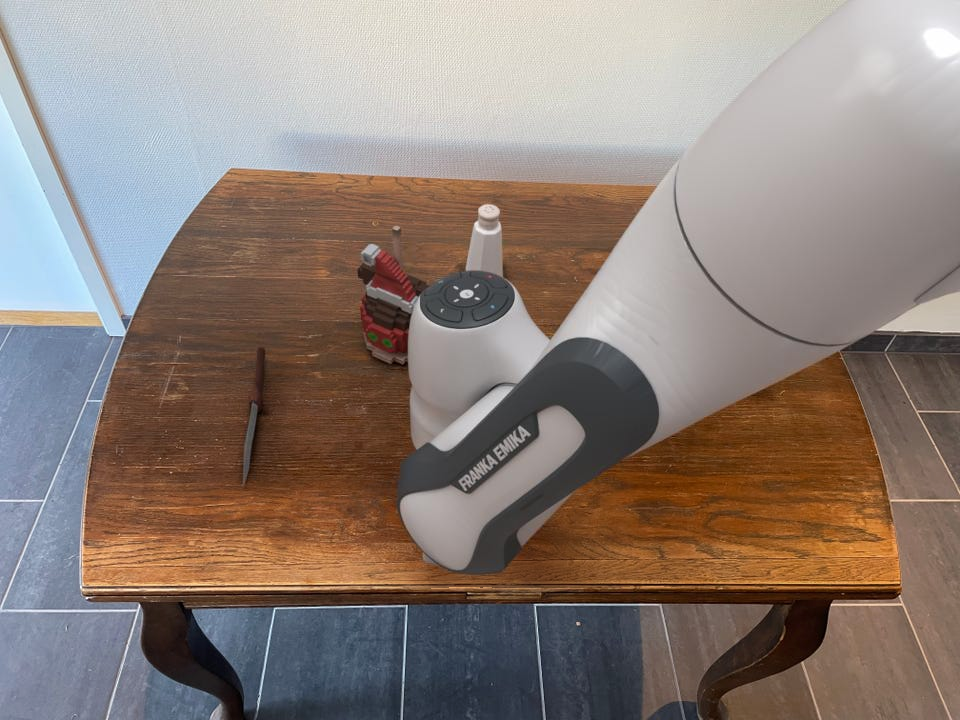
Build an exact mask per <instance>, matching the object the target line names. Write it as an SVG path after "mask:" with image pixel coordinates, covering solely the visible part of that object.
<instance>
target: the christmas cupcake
mask: <svg viewBox="0 0 960 720" xmlns="http://www.w3.org/2000/svg"><path fill="white" fill-rule="evenodd" d="M391 232H392V233H391V234H392V246H393V248H392V250H393V251H392V252H393V255H390V254H388V253H387V252H388V251H386V250H383V249H381V248H380V246H379V245H376V244H374V243H370V244H368V245H367V246H366V247H365V248H364V249H363V250H362V251H361V252H360V259H361V261H362V262H363V263H361V265H360V266H359V267H357V268H356V269H357V277H358V279H361V280H362V283H363V285H365V293H364V295H363V296H362V297H361V306H360V307H359V311H360V321H361V323H362V328H363V330H364V331H363V333H362V337H363V338H364V343H365V348H366V349H368V350H369V351H372V352H371V354H372V355H371V356H372V357H374V358H376V359H379V360H381V361H383V362H386V363H388V364H389V365H391V364H392V363H394V362H396V363H399V364H401V365H404V364H405V363H406V362H407V363H408V335H409V326H410V320H411V315H412V312H413V309H414V306H415V303H416V301H417V299H418V298H419V296H420V294H421V293H422V292H423V291H424V290H425V289H426V288H427V287H429V286H430V285H428V284H427V281H426V280H423V279H420V278H418V277H415V276H413V275H410V274H407V273H406V272H405V271H404V269H403V268H404V267H403V244H402V227H401V226H398V225H394V226H393V227H392V229H391Z"/></svg>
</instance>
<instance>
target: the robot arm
mask: <svg viewBox="0 0 960 720" xmlns="http://www.w3.org/2000/svg"><path fill="white" fill-rule="evenodd" d="M959 292H960V0H846V1H845V2H843V3H842V4H841V5H839V6H838V7H837V8H836V9H835V10H834V11H832V12H831V13H830V14H828V15H827V16H825V18H823V19H822V20H821V21H819V22H818V23H817V24H816V25H814V27H811V29H810V30H808V32H806V33H805V34H804V35H803V36H802V37H801V38H799V39H798V40H797V41H796V42H794V43H793V44H792V45H791V46H790V47H789V48H788V49H786V50H785V51H784V52H782V53H781V54H780V55H779V56H778V57H777V58H776V59H774V60H773V61H772V62H771V63H770V64H769V65H768V66H767V67H766V68H765V69H763V70H762V71H761V72H760V73H759V74H758V75H757V76H756V77H755V78H754V79H753V80H752V81H751V82H750V83H749V84H747V85H746V86H745V87H744V88H743V89H742V90H741V91H740V92H739V93H738V94H737V95H736V96H735V97H734V98H733V99H732V100H731V101H730V102H729V103H728V104H727V105H726V107H724V108H723V109H722V110H721V111H720V112H719V114H718V115H717V116H715V117H714V118H713V119H712V120H711V122H709V124H708V125H707V126H706V127H705V128H704V129H703V131H702V132H701V133H700V134H699V135H698V136H697V137H696V139H695V140H694V141H693V142H691V144H690V145H689V147H688V148H687V149H686V150H685V151H684V152H683V154H682V155H681V156H680V157H679V158H678V159H677V160H676V162H675V163H674V164H673V165H672V167H671V168H670V169H669V170H668V172H666V174H665V176H663V178H662V179H661V181H660V182H659V183H658V184H657V186H656V188H655V189H654V190H653V191H652V193H651V194H650V195H649V197H648V199H647V200H646V201H645V202H644V204H643V205H642V207H641V208H640V209H639V210H638V212H637V214H635V216H634V218H633V219H632V221H631V222H630V223H629V225H628V226H627V228H626V229H625V231H624V232H623V234H622V235H621V237H620V238H619V240H618V241H617V243H616V244H615V245H614V247H613V248H612V250H611V252H610V253H609V255H608V256H607V258H606V259H605V260H604V262H603V263H602V265H601V266H600V268H599V270H598V271H597V273H595V276H594V277H593V279H592V280H591V281H590V282H589V284H588V286H587V287H586V289H585V290H584V291H583V293H582V294H581V295H580V297H579V299H578V300H577V302H576V303H575V304H574V305H573V307H572V309H571V310H570V311H569V313H568V314H567V315H566V317H565V319H564V320H563V321H562V322H561V324H560V326H559V327H558V328H557V330H556V331H555V333H554V334H553V336H552V337H548V336H547V335H546V334H545V333H544V332H543V331H542V330H541V329H540V328H539V326H538V325H536V323H535V321H534V320H533V319H532V317H531V316H530V314H529V312H528V310H527V308H526V305H525V303H524V301H523V299H522V296H521V295H520V293H519V291H518V289H517V288H516V287H515V285H513V283H511V281H509V280H508V279H506V278H505V277H504V276H503V277H501V276H500V275H497V274H495V273H491V272H487V271H478V270H469V271H466V270H461V271H458V272H453V273H450V274H447V275H445V276H443V277H442V278H440V279H438V280H436V281H435V282H433V283H431V284H430V285H429V287H427V288H426V289H425V290H424V291H423V292H422V293H421V294H420V296H419V298H418V299H417V301H416V303H415V306H414V309H413V312H412V315H411V320H410V326H409V335H408V362H407V371H408V377H409V380H410V381H409V382H410V383H411V389H410V394H409V415H410V417H409V419H410V420H409V421H410V423H409V424H410V436H411V441H412V444H413V446H414V448H415V451H413V452H412V453H411V454H409V455H408V456H406V457H405V458H404V459H403V460H402V461H401V464H400V469H399V474H398V480H397V491H396V504H397V505H396V507H397V512H398V516H399V519H400V521H401V523H402V526H403V527H404V530H405V531H406V532H407V534H408V536H409V538H410V540H412V542H413V543H414V544H415V545H416V546H417V547H418V549H419V550H420V551H421V552H422V559H423V561H424V562H426V563H428V564H432V565H435V566H439V567H441V568H442V569H444V570H446V571H449V572H451V573H454V574H460V575H470V576H485V575H487V576H489V575H497V574H502V573H503V572H504V571H505V570H506V569H507V567H508V566H509V565H510V564H511V563H512V562H513V560H515V558H516V557H517V556H518V555H519V553H520V552H521V551H522V549H523V546H524V545H526V543H527V542H528V541H529V540H530V539H531V538H532V537H533V536H535V534H536V533H537V532H538V531H539V530H540V529H541V528H542V527H543V526H544V525H545V523H546V522H547V521H548V520H549V519H550V518H551V517H552V516H553V515H554V514H555V513H556V512H557V511H558V510H559V509H560V508H561V507H562V506H563V504H564V503H565V502H566V501H567V500H568V499H569V498H570V497H571V496H572V495H573V494H574V493H575V492H576V491H577V490H579V489H580V488H582V487H583V486H585V485H586V484H588V483H590V482H591V481H593V480H594V479H596V478H597V477H598V476H600V475H602V474H603V473H605V472H607V471H608V470H609V469H611V468H612V467H615V466H616V465H617V464H619V463H620V462H623V461H624V460H626V459H628V458H630V457H632V456H634V455H636V454H638V453H640V452H642V451H644V450H647V449H648V448H650V447H652V446H654V445H656V444H658V443H660V442H662V441H664V440H666V439H667V438H670V437H672V436H673V435H675V434H677V433H679V432H681V431H683V430H685V429H686V428H689V427H690V426H692V425H694V424H695V423H698V422H699V421H701V420H703V419H705V418H707V417H709V416H712V415H713V414H716V413H717V412H719V411H721V410H723V409H725V408H727V407H729V406H731V405H734V404H735V403H738V402H739V401H741V400H744V399H746V398H748V397H750V396H752V395H754V394H756V393H758V392H761V391H763V390H765V389H766V388H769V387H771V386H773V385H775V384H777V383H779V382H781V381H783V380H785V379H788V378H789V377H791V376H793V375H795V374H797V373H799V372H800V371H801V372H802V370H805V369H807V368H809V367H812V366H813V365H815V364H817V363H819V362H821V361H822V360H825V359H827V358H829V357H831V356H833V355H835V354H836V353H838V352H840V351H842V350H844V349H845V348H847V347H850V346H851V345H853V344H854V343H856V342H858V341H859V340H861V339H863V338H866V337H867V336H870V335H871V334H872V333H874V332H876V331H878V330H879V329H881V328H883V327H884V326H887V325H888V324H890V323H891V322H893V321H895V320H896V319H898V318H900V317H901V316H903V315H904V314H906V313H908V312H909V311H911V310H912V309H915V308H916V307H918V306H920V305H923V304H925V303H929V302H931V301H935V300H936V299H939V298H942V297H944V296H947V295H952V294H955V293H959Z"/></svg>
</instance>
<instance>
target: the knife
mask: <svg viewBox="0 0 960 720" xmlns="http://www.w3.org/2000/svg"><path fill="white" fill-rule="evenodd" d="M265 361H266V348H265V347H263V346H259V347H257V350H256V363H255V376H254V382H253V387H252V389H250V390H251V391H250V393H249V396H248V405H249V409H250V416H249V421H248V425H247V426H248V427H247V431H246V436H245V440H244V448H243V466H242V467H243V468H242V469H243V471H242V473H243V474H242V482H243V483H242V486H243V488H244V486H245V484H246V480H247V477H248V473H249V470H250V461H251V454H252V448H253V444H254V437H255V431H256V430H255V429H256V425H257V424H256V422H257V416H258V415H257V414H259V413H260V412H261V411H262V408H263V404H264V402H263V397H262V392H263V385H264V376H265Z"/></svg>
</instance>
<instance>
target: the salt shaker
mask: <svg viewBox="0 0 960 720" xmlns="http://www.w3.org/2000/svg"><path fill="white" fill-rule="evenodd" d="M477 213H478V214H477V215H478V217H477V220H476V221H475V222H474V224H473V226H472V232H471V237H470V243H469V248H468V254H467V258H466V263H465V271H469V270H478V271H487V272H491V273H495V274H497V275H500V276H501V277H503V278H504V270H503V266H504V265H503V232H502V231H503V230H502V224H501V222H500V221H499V220H500V215H501V210H500V208H499V207H498V206H496V205H495V204H490V203H489V204H488V203H485V204H482V205H481V206H480V207H478V210H477Z"/></svg>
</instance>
